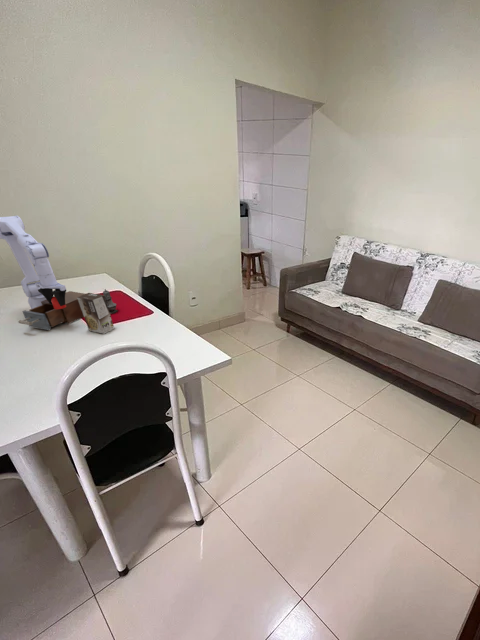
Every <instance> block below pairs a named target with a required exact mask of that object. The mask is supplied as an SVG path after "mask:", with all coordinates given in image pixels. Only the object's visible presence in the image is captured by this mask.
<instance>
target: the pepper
mask: <svg viewBox="0 0 480 640" xmlns="http://www.w3.org/2000/svg"><path fill="white" fill-rule="evenodd" d="M53 296H54V295H53ZM51 302H52V304H53V307H54V309H62V308H65V307H66V304H65V305H63V306H60V305H59V303H58V301H57V299H56V297H55V296H54V297H53V298H52V299H51Z"/></svg>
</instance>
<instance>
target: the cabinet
mask: <svg viewBox="0 0 480 640" xmlns="http://www.w3.org/2000/svg"><path fill="white" fill-rule="evenodd" d="M84 294H85V293H83V292H78V291H73V290H72V291H71V290H69V291H66V293H65V304H66V307H65V308H62V310H63V312H64V315H65V318H66V320H67V321H64V322H62V324H63V323H64V324H68V325H69V324H72V323H73V322H75V321H78V320H80V319H83V318H84V315H83V312H82V310H81V307H80V304H79V302H78V299H77V297H79V296H82V295H84ZM41 304H42V305H43V304H48V305H53V304H50V303H49V302H48V301H47V300H44V301H41Z"/></svg>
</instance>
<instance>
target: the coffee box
mask: <svg viewBox="0 0 480 640" xmlns="http://www.w3.org/2000/svg"><path fill="white" fill-rule="evenodd" d="M77 299H78V302H79V304H80V307H81V310H82V312H83V315H84V317H83V318H84V321H85V322H86V326H87V329H88V331H90V332H94V333H99V334H103V335H105V334H106V333H109V332H110V331H113V330H115V326H114V323H113V319H112V316H111V314H110V312H109V309H108V306H107V303H106V299H105V296H104V295H103V294H99V293H93V292H87V293H84V295H82V296H79V297H77Z"/></svg>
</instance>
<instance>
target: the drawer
mask: <svg viewBox="0 0 480 640" xmlns="http://www.w3.org/2000/svg"><path fill="white" fill-rule="evenodd" d="M22 314H23V316H24V319H18V321H17V322H18V324H22V325H26V326H29V327H32V328H37V329H40V330H46V331H50V330H52V328H54V327H55V326H58V325H60V324H63V322H64V321H67V320H66V318H65V315H64V312H63V310H62V309H54V307H53V305H48V304H43V305H41V306H38V307H35V308H33V309H31V308H30V309H29V310H27V309H24V310H22Z"/></svg>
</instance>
